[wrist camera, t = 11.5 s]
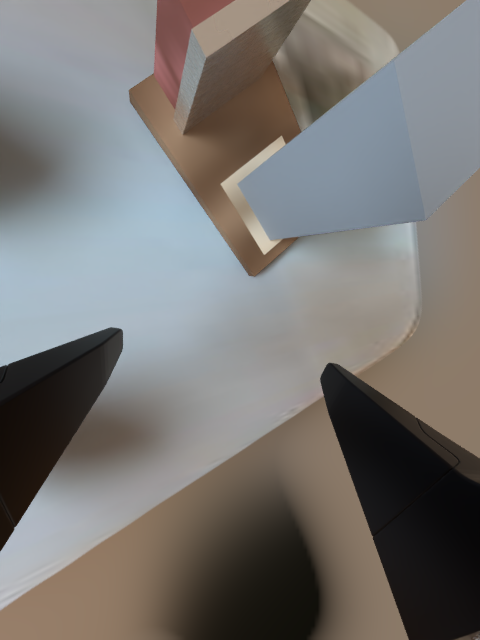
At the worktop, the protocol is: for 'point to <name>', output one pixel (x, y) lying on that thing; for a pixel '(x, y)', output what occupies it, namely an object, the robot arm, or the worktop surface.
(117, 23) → the worktop surface
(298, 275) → the worktop surface
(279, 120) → the shelf board
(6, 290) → the worktop surface
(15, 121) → the worktop surface
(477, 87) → the tall blue-gray box
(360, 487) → the robot arm
